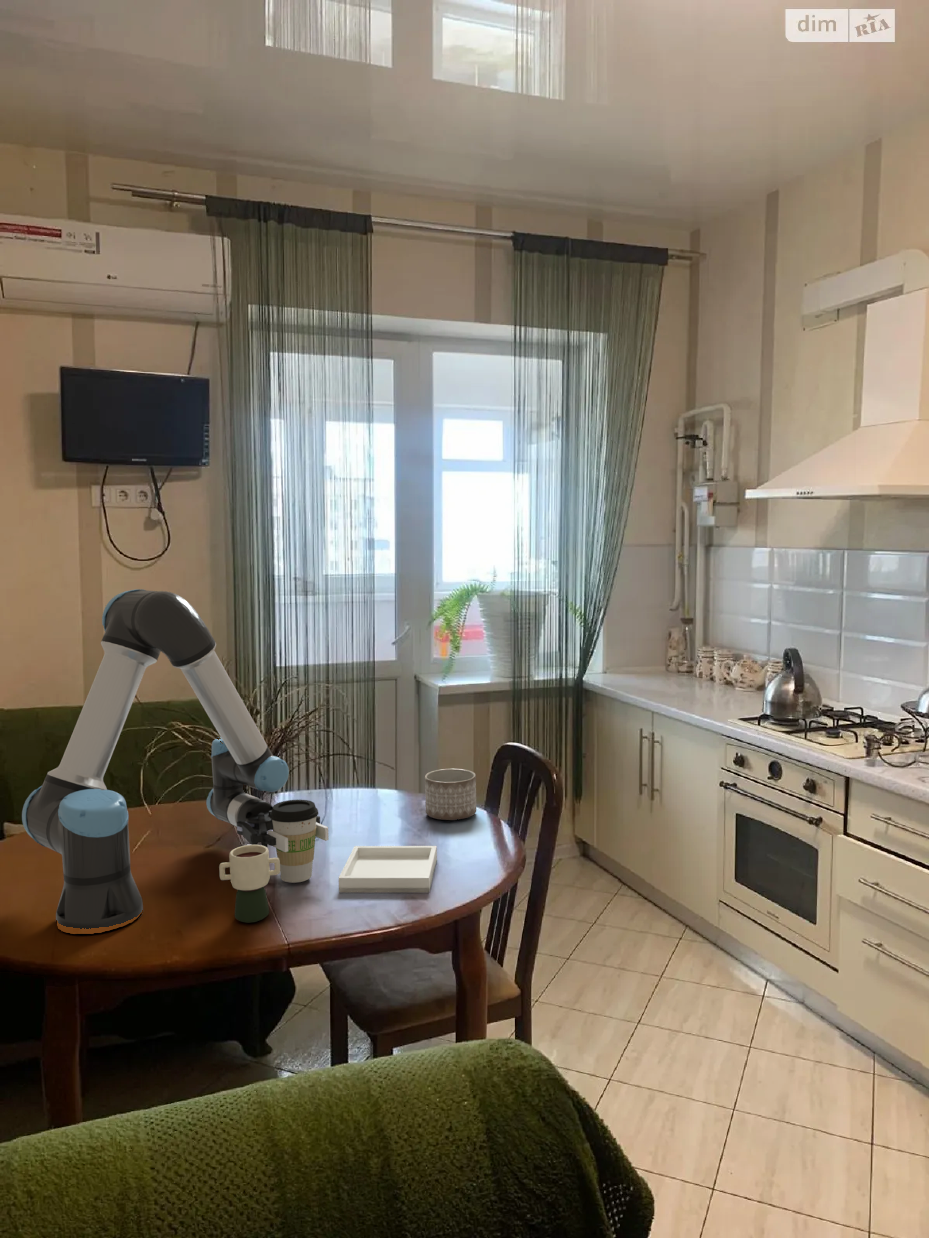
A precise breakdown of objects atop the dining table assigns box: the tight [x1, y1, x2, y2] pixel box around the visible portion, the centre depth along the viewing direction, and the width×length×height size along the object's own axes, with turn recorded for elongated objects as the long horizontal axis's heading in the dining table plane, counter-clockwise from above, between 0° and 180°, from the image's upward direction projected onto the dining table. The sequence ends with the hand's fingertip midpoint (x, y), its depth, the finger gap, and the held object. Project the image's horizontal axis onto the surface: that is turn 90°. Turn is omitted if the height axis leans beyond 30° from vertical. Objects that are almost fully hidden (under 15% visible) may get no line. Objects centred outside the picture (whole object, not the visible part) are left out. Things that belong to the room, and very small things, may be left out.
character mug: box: [218, 844, 280, 924], centre depth 167 cm, size 11×7×13 cm, turn 102°
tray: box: [338, 845, 438, 894], centre depth 187 cm, size 18×18×3 cm
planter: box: [424, 768, 477, 821], centre depth 224 cm, size 13×13×10 cm
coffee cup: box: [270, 799, 319, 884], centre depth 184 cm, size 10×10×15 cm
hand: (307, 839), depth 180 cm, fingers closed on coffee cup, 9 cm apart
